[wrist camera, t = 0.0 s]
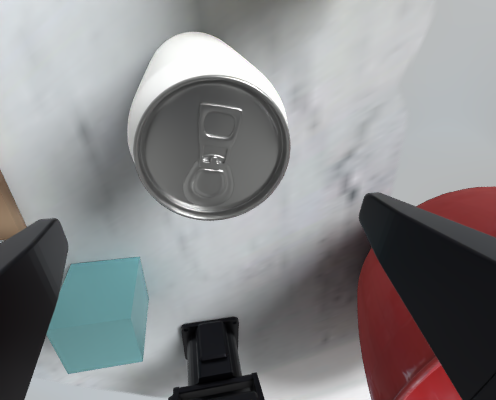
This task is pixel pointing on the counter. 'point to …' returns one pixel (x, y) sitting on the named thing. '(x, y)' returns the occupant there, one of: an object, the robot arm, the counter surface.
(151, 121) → the can
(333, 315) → the counter surface
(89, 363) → the teal cube
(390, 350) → the mixing bowl
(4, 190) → the base board
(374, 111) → the counter surface
